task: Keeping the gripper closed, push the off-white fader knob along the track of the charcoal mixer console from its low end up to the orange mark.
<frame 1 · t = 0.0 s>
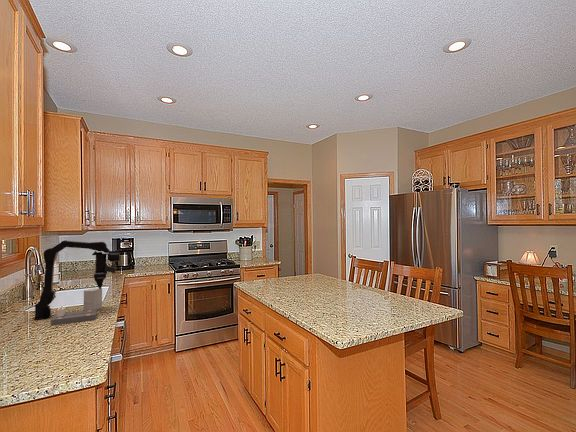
hand: (100, 287, 190), 15 cm above the table, tool pointing down, fingers open, 9 cm apart
supplement box: (92, 309, 194), on the table
console: (75, 319, 173), on the table
fader: (61, 311, 170), point 6 cm above the table, slide at -6.5 cm
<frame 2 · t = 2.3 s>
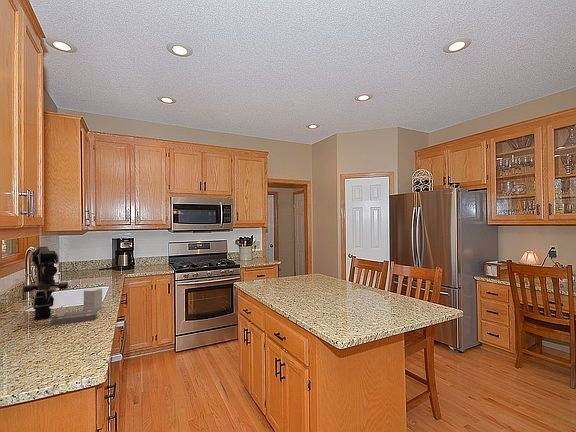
hand: (46, 302, 167), 11 cm above the table, tool pointing down, fingers closed
nothing on the table moved.
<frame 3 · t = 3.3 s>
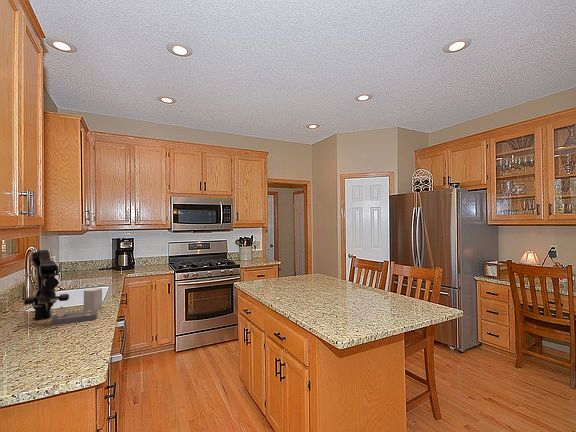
hand: (47, 314, 167), 5 cm above the table, tool pointing down, fingers closed
nothing on the table moved.
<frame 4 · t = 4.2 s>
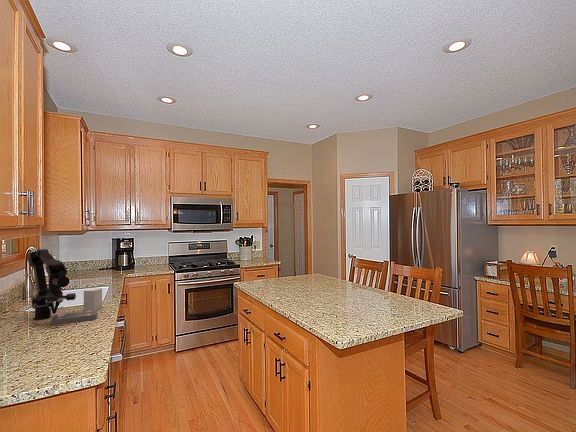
hand: (54, 314, 169), 5 cm above the table, tool pointing down, fingers closed
fader: (61, 311, 170), point 6 cm above the table, slide at -6.3 cm, touching gripper
everything else where it was.
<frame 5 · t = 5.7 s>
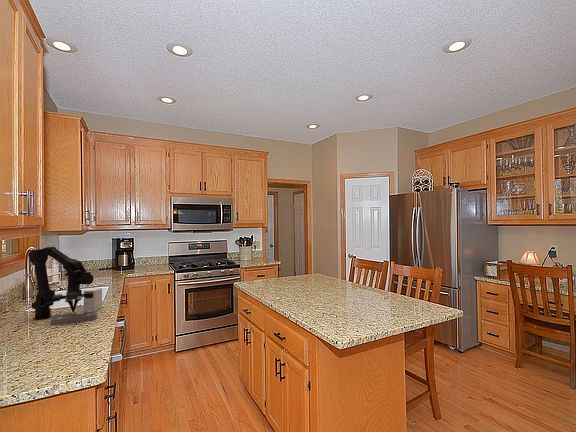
hand: (73, 311, 173), 5 cm above the table, tool pointing down, fingers closed
fader: (80, 309, 174), point 6 cm above the table, slide at 2.2 cm, touching gripper
everything else where it was.
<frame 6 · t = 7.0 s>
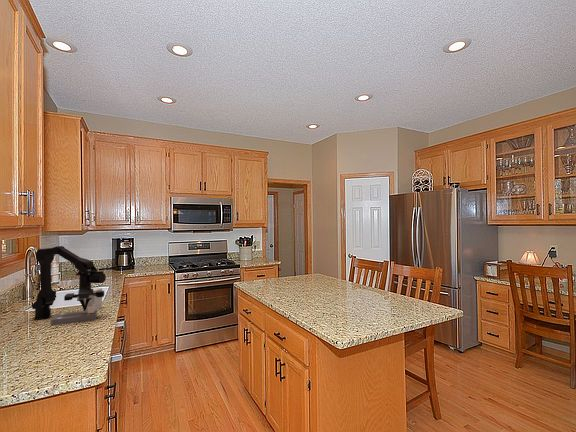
hand: (84, 310, 175), 5 cm above the table, tool pointing down, fingers closed
fader: (91, 308, 177), point 6 cm above the table, slide at 7.6 cm, touching gripper
everything else where it was.
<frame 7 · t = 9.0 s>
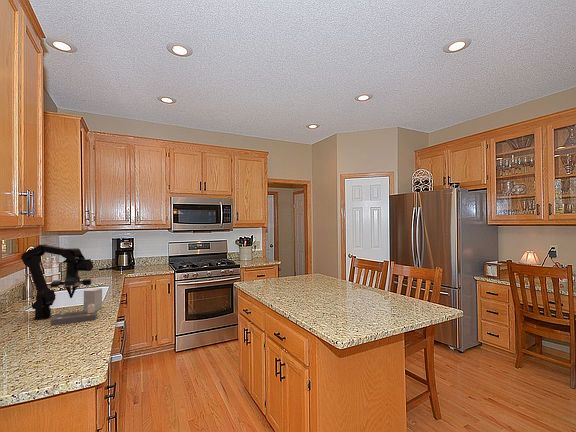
hand: (71, 297, 176), 12 cm above the table, tool pointing down, fingers closed
fader: (91, 308, 177), point 6 cm above the table, slide at 7.6 cm
everything else where it was.
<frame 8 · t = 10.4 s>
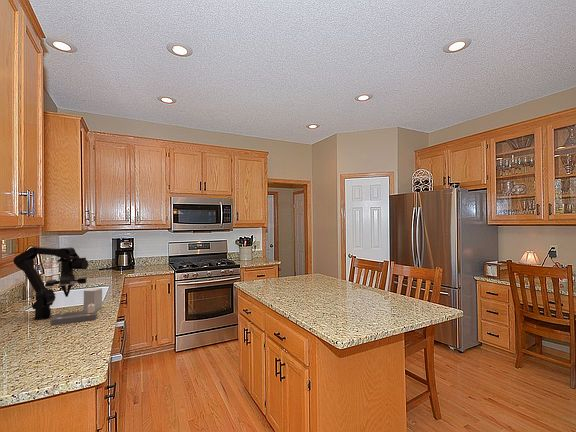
hand: (66, 296, 177), 12 cm above the table, tool pointing down, fingers closed
nothing on the table moved.
at the end: fader slide at 7.6 cm; supplement box moved 0.2 cm from its start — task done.
